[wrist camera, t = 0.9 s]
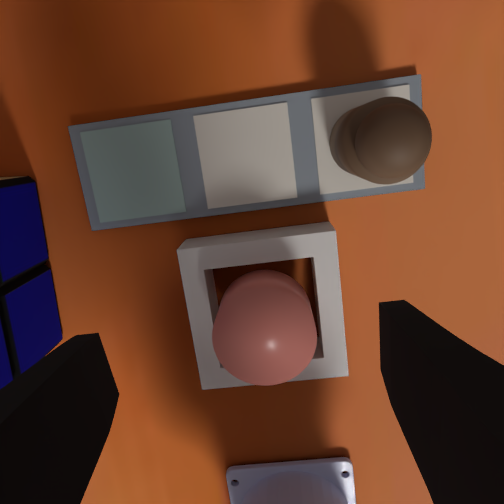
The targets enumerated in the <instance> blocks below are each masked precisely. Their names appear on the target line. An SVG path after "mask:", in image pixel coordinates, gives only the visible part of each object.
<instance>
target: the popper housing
mask: <svg viewBox="0 0 504 504" xmlns="http://www.w3.org/2000/svg"><path fill="white" fill-rule="evenodd" d="M177 255H178V261H179V266H180V272H181V277H182V283H183V288H184V294H185V299H186V305H187V310H188V315H189V321H190V326H191V332H192V337H193V343H194V348H195V354H196V359H197V365H198V370H199V375H200V381H201V386H202V390H207V389H217V388H227V387H238V386H248V385H254V384H250V383H247V382H244V381H242V380H240V379H238V378H236V377H234V376H233V375H232V374H230V373H229V372H228V371H227V370H226V369H225V368H224V367H223V366H222V364H221V363H220V362H219V360H218V358H217V356H216V354H215V351H214V348H213V343H212V330H213V325H214V322H215V319H216V316H217V313H218V309H219V306H218V300H217V294H216V288H215V282H214V276H213V269H215V268H224V267H232V266H241V265H250V264H258V263H267V262H275V261H284V260H292V259H301V258H309V257H311V265H312V274H313V284H314V293H315V303H316V312H317V322H318V331H319V337H317V345H316V349H315V353H314V355H313V358H312V360H311V361H310V363H309V364H308V366H307V367H306V368H305V369H304V370H303V371H302V372H301V373H300V374H299V375H297V376H296V377H294V378H293V379H291V380H289V381H286V382H290V381H301V380H311V379H322V378H332V377H343V376H349V374H348V363H347V352H346V340H345V329H344V318H343V306H342V295H341V284H340V272H339V261H338V250H337V238H336V230H335V229H334V227H333V226H332V225H331V223H330V222H329V221H328V222H320V223H312V224H304V225H296V226H288V227H280V228H272V229H263V230H255V231H247V232H239V233H231V234H223V235H215V236H207V237H199V238H190V239H186V240H185V241H184V242H183V243H182V244H181V245H180V247H179V248H178V249H177Z"/></svg>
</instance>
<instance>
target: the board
mask: <svg viewBox="0 0 504 504" xmlns="http://www.w3.org/2000/svg"><path fill="white" fill-rule="evenodd" d="M391 96H393V97H401V98H405V99H407V100H409V101H411V102H413V103H415V104H416V105H417V106H418V107H419V108H420V109H422V92H421V74H419V75H413V76H406V77H399V78H392V79H385V80H379V81H372V82H365V83H358V84H351V85H345V86H338V87H331V88H324V89H317V90H311V91H304V92H297V93H290V94H283V95H277V96H270V97H263V98H256V99H249V100H243V101H236V102H229V103H222V104H215V105H209V106H202V107H195V108H188V109H181V110H175V111H168V112H161V113H154V114H147V115H141V116H134V117H127V118H120V119H113V120H107V121H100V122H93V123H86V124H79V125H73V126H68V129H69V133H70V138H71V142H72V146H73V151H74V155H75V159H76V164H77V168H78V172H79V177H80V181H81V186H82V190H83V194H84V199H85V203H86V207H87V212H88V216H89V220H90V225H91V229H92V231H95V230H103V229H111V228H119V227H127V226H135V225H143V224H150V223H158V222H166V221H174V220H182V219H190V218H198V217H206V216H213V215H221V214H229V213H237V212H245V211H253V210H261V209H269V208H276V207H284V206H292V205H300V204H308V203H316V202H324V201H332V200H339V199H347V198H355V197H363V196H371V195H379V194H387V193H395V192H402V191H410V190H418V189H425V177H424V163H423V165H422V166H421V167H420V169H419V170H418V171H417V172H416V173H414V174H413V175H412V176H410V177H409V178H407V179H405V180H403V181H401V182H398V183H394V184H386V185H384V184H376V183H372V182H370V181H367V180H365V179H362V178H360V177H357V176H355V175H353V174H350V173H348V172H346V171H344V170H343V169H341V168H340V167H339V166H338V165H337V164H336V162H335V161H334V159H333V157H332V155H331V151H330V142H329V141H330V135H331V131H332V129H333V127H334V125H335V123H336V122H337V120H338V119H339V118H340V117H341V116H342V115H343V114H344V113H346V112H347V111H349V110H351V109H353V108H356V107H358V106H361V105H363V104H366V103H368V102H371V101H373V100H376V99H379V98H383V97H391Z"/></svg>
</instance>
